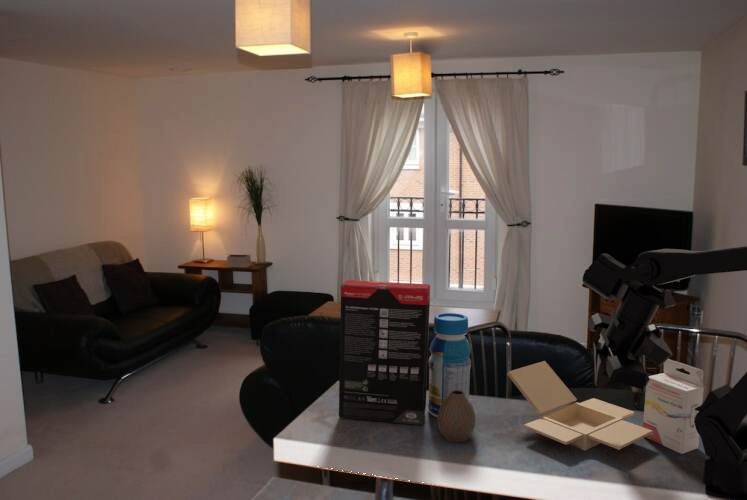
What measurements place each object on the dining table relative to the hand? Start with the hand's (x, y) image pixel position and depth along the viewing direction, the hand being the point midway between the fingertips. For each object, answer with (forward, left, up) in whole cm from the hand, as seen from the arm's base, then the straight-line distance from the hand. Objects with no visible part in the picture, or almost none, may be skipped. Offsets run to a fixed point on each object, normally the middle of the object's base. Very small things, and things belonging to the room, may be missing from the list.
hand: (597, 385), depth 116 cm
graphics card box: (+38, +12, -10) cm, 41 cm away
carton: (0, 0, -10) cm, 10 cm away
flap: (+8, -3, -7) cm, 10 cm away
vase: (+22, +13, -10) cm, 28 cm away
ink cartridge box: (-12, -6, -10) cm, 17 cm away
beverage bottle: (+28, +3, -10) cm, 30 cm away
